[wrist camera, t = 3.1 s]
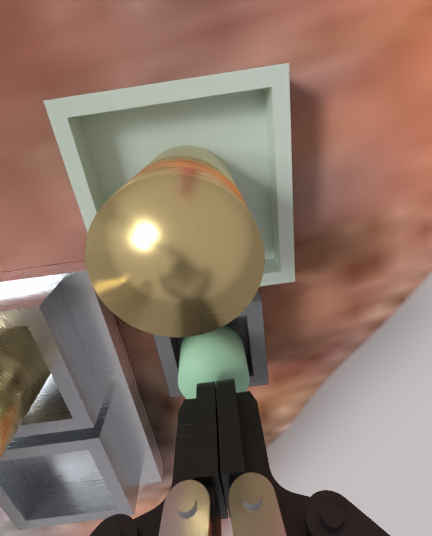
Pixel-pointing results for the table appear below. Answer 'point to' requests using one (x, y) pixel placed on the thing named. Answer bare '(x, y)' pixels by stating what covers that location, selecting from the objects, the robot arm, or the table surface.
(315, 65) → the table surface
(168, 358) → the console
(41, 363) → the billet
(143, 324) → the billet
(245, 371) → the button
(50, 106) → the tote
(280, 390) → the table surface
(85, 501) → the tray
